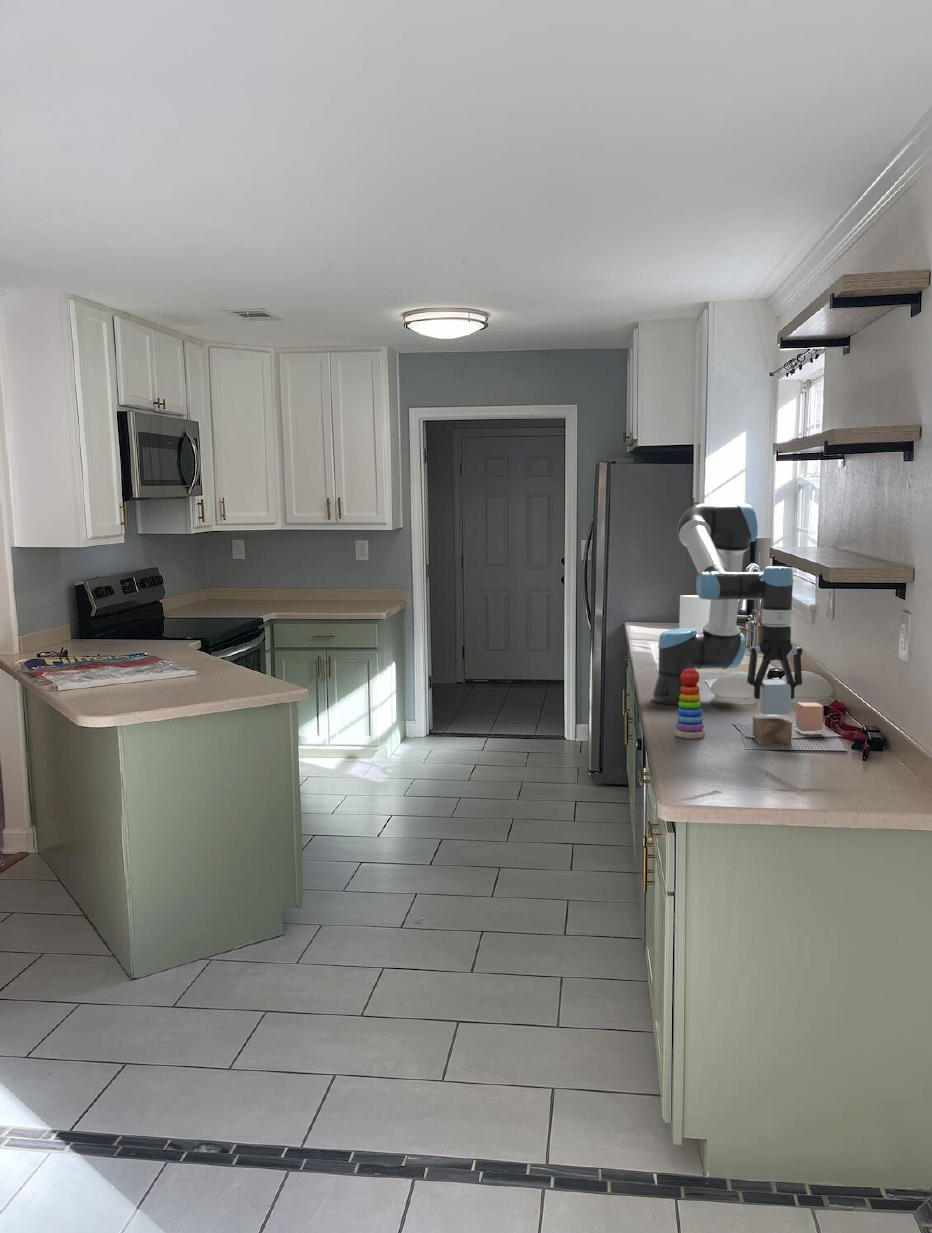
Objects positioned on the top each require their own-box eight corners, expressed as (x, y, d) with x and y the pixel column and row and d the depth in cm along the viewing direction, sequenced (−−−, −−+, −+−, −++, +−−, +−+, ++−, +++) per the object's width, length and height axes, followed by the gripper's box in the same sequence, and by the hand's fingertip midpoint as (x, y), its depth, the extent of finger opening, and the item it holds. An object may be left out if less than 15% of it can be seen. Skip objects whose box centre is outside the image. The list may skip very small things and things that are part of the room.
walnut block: (760, 744, 255) (761, 722, 254) (752, 737, 263) (753, 716, 262) (791, 745, 255) (792, 722, 254) (782, 738, 263) (782, 716, 262)
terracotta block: (802, 734, 266) (803, 706, 265) (795, 730, 271) (796, 702, 271) (822, 735, 266) (823, 706, 265) (815, 730, 271) (816, 702, 270)
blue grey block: (764, 714, 255) (765, 684, 254) (757, 709, 262) (758, 680, 261) (789, 714, 255) (790, 684, 254) (781, 709, 262) (782, 680, 261)
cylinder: (728, 667, 380) (730, 597, 377) (685, 668, 379) (686, 597, 376) (713, 661, 397) (715, 593, 394) (672, 661, 396) (673, 593, 393)
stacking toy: (707, 734, 266) (709, 667, 264) (701, 740, 259) (703, 671, 257) (678, 731, 270) (680, 665, 268) (672, 737, 262) (673, 669, 260)
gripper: (743, 626, 252) (740, 713, 255) (818, 626, 252) (815, 713, 254) (735, 623, 260) (733, 707, 262) (808, 623, 259) (805, 708, 262)
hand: (773, 710), depth 258 cm, fingers closed on blue grey block, 6 cm apart
